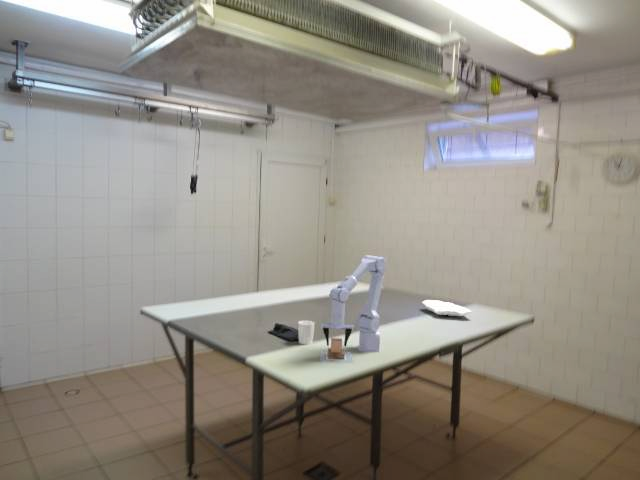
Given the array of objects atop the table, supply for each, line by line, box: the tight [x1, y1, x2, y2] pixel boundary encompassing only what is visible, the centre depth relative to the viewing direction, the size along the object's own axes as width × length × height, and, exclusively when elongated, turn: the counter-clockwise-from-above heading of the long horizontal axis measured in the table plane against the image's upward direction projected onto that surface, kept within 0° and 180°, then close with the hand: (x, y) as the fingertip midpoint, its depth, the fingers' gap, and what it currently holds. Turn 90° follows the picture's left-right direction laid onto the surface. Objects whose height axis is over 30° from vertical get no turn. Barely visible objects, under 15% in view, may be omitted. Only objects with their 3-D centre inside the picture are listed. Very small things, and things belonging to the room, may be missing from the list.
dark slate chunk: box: [268, 322, 299, 342], centre depth 235 cm, size 15×22×5 cm
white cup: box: [297, 320, 316, 345], centre depth 223 cm, size 8×8×10 cm
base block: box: [327, 347, 345, 359], centre depth 204 cm, size 7×7×2 cm
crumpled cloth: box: [421, 299, 473, 317], centre depth 294 cm, size 24×35×9 cm
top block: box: [330, 337, 343, 353], centre depth 204 cm, size 4×4×5 cm
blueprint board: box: [319, 350, 354, 364], centre depth 204 cm, size 14×14×1 cm
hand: (336, 345), depth 204 cm, fingers open, 7 cm apart
